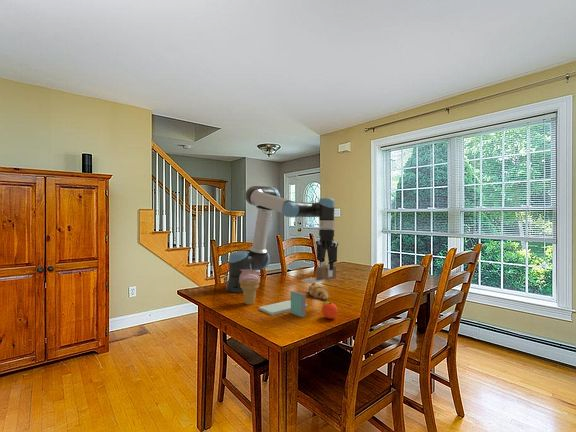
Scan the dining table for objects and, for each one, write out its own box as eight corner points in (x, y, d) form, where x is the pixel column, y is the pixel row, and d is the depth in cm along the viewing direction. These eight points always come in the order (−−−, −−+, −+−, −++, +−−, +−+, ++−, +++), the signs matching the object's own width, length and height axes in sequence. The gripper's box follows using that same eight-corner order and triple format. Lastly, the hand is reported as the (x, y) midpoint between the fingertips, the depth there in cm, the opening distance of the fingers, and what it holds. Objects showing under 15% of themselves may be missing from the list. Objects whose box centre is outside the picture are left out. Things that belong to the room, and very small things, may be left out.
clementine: (317, 316, 137) (317, 301, 137) (328, 314, 141) (328, 298, 141) (329, 322, 131) (329, 305, 131) (340, 318, 135) (341, 302, 135)
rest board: (258, 309, 148) (258, 307, 148) (293, 301, 161) (293, 299, 161) (272, 315, 139) (272, 312, 139) (307, 306, 153) (307, 304, 153)
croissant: (331, 306, 164) (337, 293, 166) (316, 299, 161) (323, 285, 162) (314, 296, 184) (319, 284, 185) (300, 289, 181) (306, 277, 182)
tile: (290, 313, 143) (290, 291, 143) (293, 312, 144) (294, 291, 144) (301, 317, 136) (301, 295, 136) (305, 316, 138) (305, 294, 138)
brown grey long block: (328, 276, 157) (328, 265, 157) (337, 278, 153) (337, 266, 153) (301, 281, 146) (301, 268, 146) (309, 283, 141) (309, 270, 141)
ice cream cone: (236, 301, 161) (237, 263, 161) (256, 299, 165) (256, 262, 165) (241, 307, 151) (241, 267, 151) (262, 305, 155) (262, 265, 155)
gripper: (309, 228, 156) (309, 274, 156) (334, 229, 143) (334, 279, 143) (319, 228, 161) (319, 272, 161) (344, 229, 148) (344, 277, 148)
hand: (326, 275), depth 152 cm, fingers closed on brown grey long block, 4 cm apart
